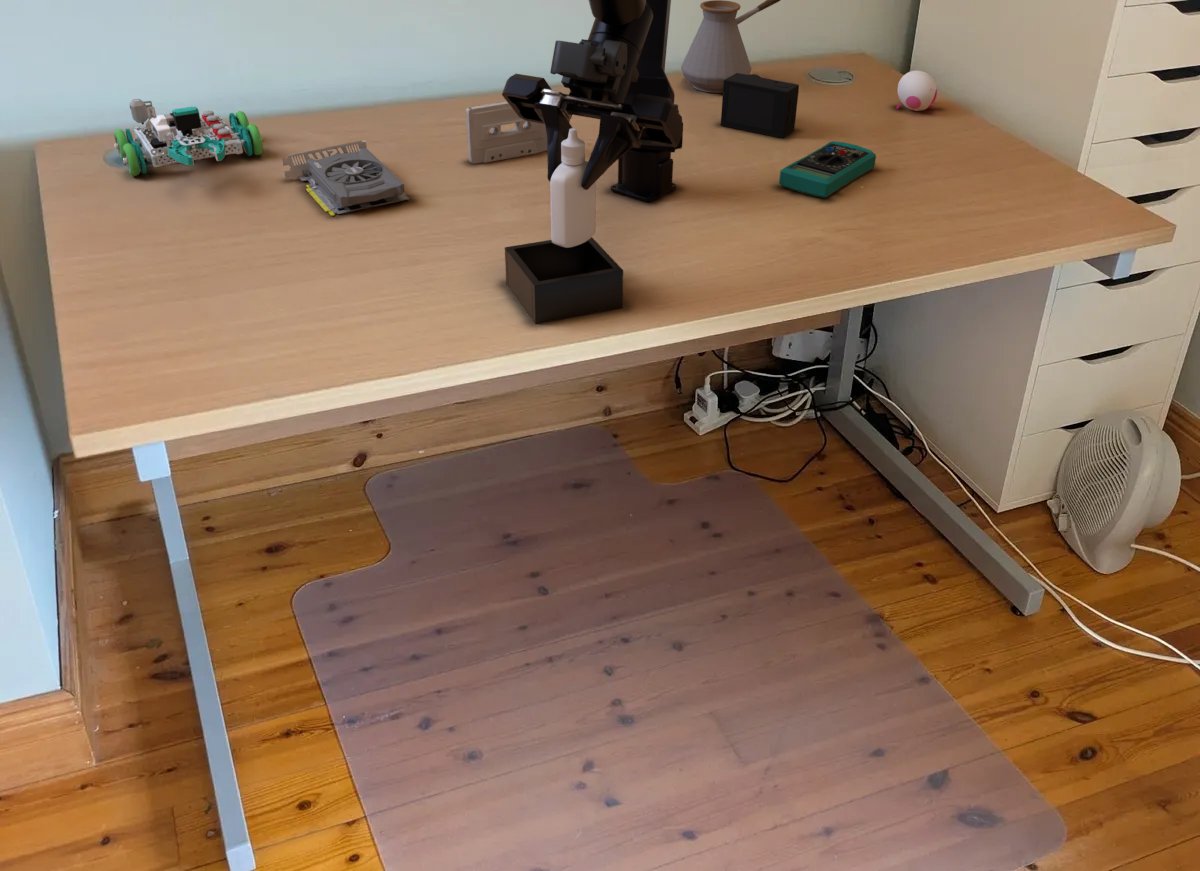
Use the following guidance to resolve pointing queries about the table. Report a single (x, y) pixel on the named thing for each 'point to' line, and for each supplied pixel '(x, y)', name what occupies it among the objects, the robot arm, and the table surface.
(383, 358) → the table surface
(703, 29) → the coffee pot
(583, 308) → the holder
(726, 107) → the digital camera
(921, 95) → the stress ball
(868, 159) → the digital multimeter
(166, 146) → the robot kit
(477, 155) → the cassette
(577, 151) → the eye dropper bottle
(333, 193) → the graphics card
